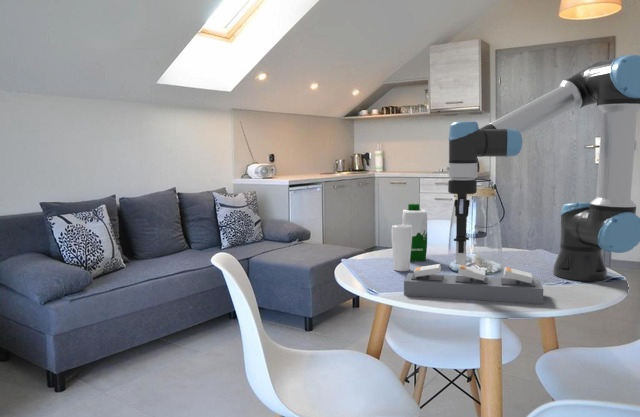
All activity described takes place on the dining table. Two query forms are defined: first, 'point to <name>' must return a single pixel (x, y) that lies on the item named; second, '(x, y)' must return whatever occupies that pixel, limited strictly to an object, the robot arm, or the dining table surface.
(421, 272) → the rocker left
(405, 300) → the dining table surface
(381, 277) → the dining table surface
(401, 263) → the drinking glass
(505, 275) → the rocker right
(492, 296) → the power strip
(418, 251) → the milk carton
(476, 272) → the rocker middle
